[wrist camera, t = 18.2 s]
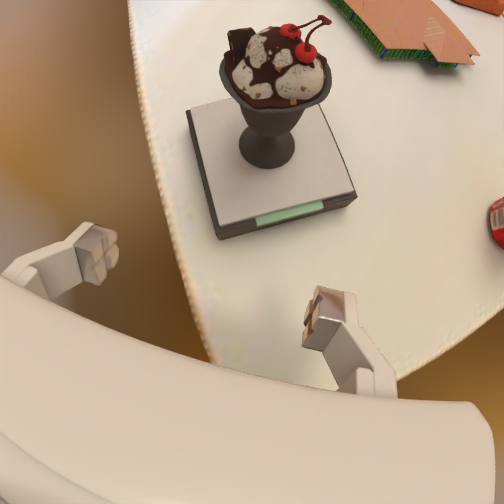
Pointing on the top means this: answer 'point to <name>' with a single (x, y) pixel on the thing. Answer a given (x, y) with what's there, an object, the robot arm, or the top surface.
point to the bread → (485, 5)
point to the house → (412, 29)
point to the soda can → (498, 221)
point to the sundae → (273, 87)
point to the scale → (266, 171)
